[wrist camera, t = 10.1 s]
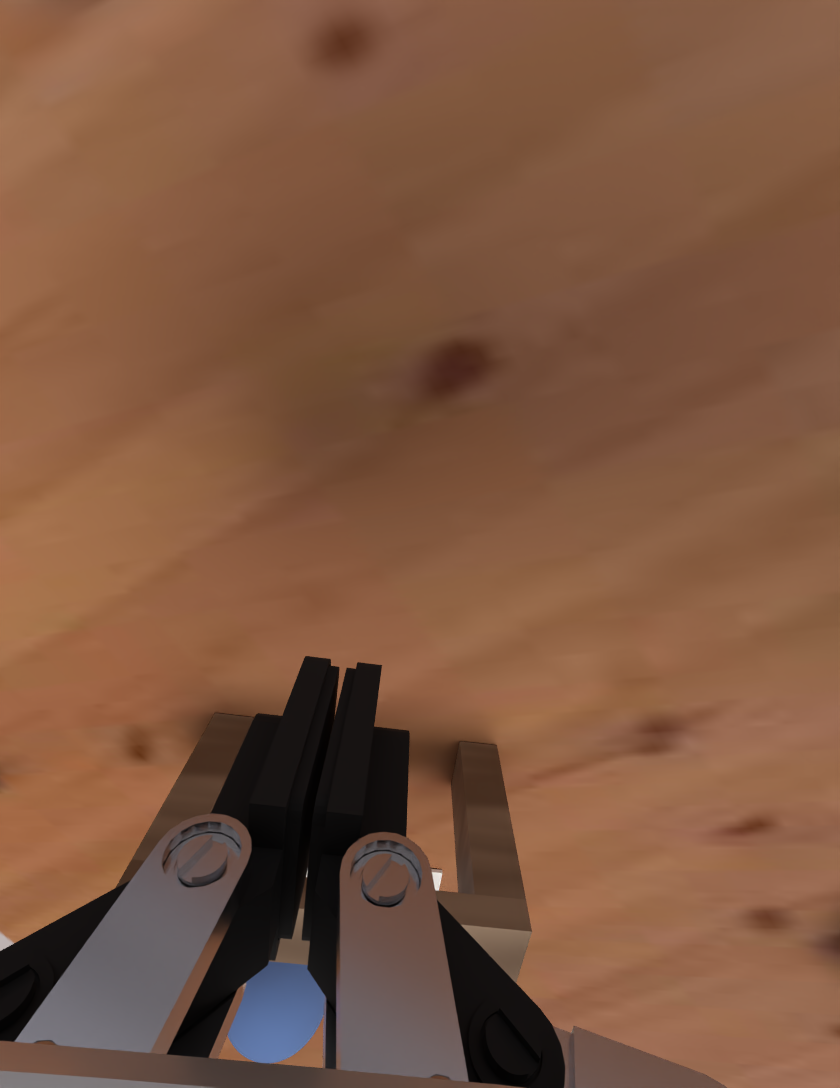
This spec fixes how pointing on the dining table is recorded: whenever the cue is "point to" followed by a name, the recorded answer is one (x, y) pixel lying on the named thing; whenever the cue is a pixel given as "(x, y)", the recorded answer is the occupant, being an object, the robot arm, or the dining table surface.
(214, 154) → the dining table surface
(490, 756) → the bridge
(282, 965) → the ball
